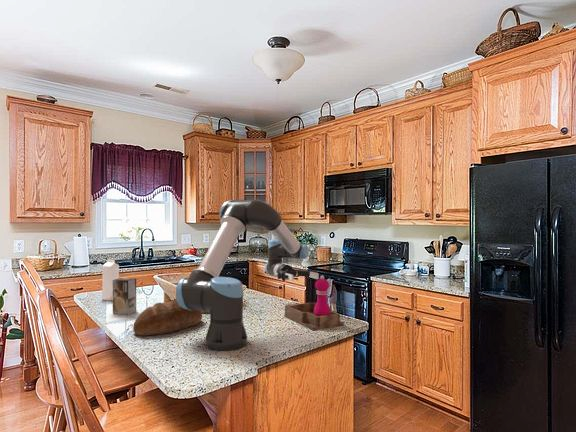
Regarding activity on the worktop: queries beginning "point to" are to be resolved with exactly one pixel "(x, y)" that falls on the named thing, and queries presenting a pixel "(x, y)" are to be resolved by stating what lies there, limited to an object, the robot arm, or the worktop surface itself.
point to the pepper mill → (322, 297)
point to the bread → (165, 319)
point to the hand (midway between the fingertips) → (305, 277)
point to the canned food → (166, 297)
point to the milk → (109, 278)
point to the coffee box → (124, 296)
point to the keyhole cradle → (311, 316)
